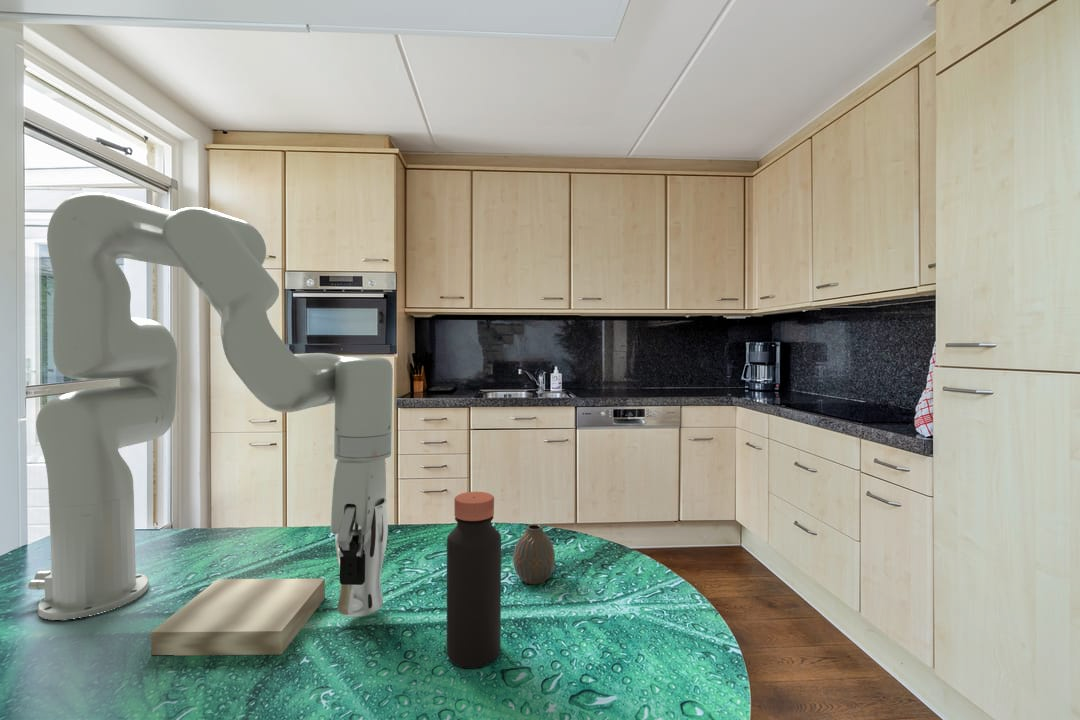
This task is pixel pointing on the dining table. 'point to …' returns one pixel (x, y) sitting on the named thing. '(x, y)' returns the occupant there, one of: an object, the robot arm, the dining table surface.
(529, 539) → the vase
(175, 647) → the plate
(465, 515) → the bottle
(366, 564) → the beer glass
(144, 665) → the dining table surface
